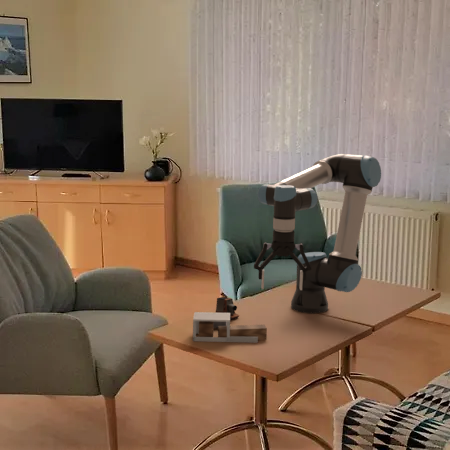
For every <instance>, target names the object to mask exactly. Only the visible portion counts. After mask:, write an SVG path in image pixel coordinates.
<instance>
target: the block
mask: <svg viewBox="0 0 450 450" xmlns="http://www.w3.org/2000/svg"><path fill="white" fill-rule="evenodd" d="M198 337H214V328H213V321H199V334H198Z"/></svg>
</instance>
